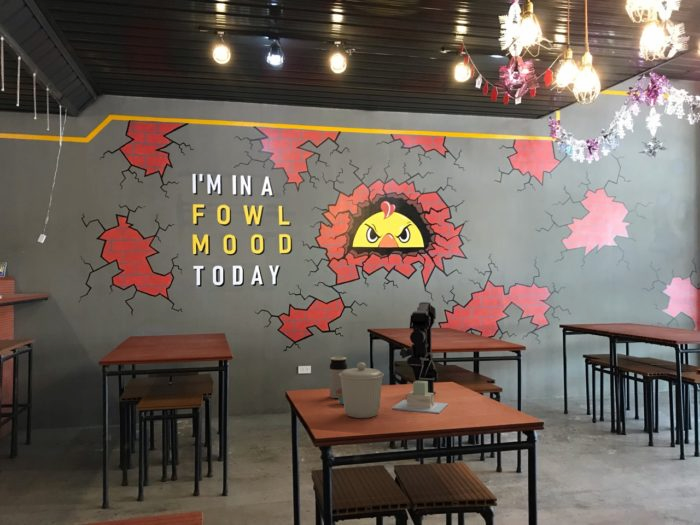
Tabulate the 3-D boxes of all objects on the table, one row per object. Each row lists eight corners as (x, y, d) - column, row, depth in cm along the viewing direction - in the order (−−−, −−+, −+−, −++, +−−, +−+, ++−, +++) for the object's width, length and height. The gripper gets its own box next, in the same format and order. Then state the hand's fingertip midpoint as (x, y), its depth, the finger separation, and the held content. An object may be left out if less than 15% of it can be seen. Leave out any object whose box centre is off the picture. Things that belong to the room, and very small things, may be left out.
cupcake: (332, 404, 240) (332, 376, 240) (340, 400, 247) (340, 373, 248) (351, 406, 236) (351, 378, 237) (358, 402, 244) (358, 374, 244)
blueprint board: (403, 400, 246) (403, 399, 246) (448, 405, 238) (448, 403, 238) (392, 409, 231) (392, 407, 231) (439, 413, 224) (439, 411, 224)
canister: (378, 422, 210) (377, 367, 211) (333, 419, 216) (332, 365, 216) (388, 411, 228) (388, 360, 228) (346, 408, 233) (346, 358, 233)
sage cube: (416, 392, 238) (416, 380, 238) (427, 393, 236) (427, 381, 236) (413, 394, 234) (413, 382, 234) (424, 395, 232) (424, 383, 232)
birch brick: (410, 403, 239) (410, 391, 240) (433, 404, 236) (433, 393, 236) (407, 406, 234) (407, 394, 234) (430, 408, 230) (430, 396, 230)
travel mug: (350, 396, 256) (350, 357, 256) (341, 399, 249) (341, 359, 249) (335, 394, 260) (335, 356, 260) (326, 398, 253) (326, 358, 253)
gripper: (408, 338, 247) (408, 373, 247) (395, 343, 230) (395, 381, 230) (432, 339, 243) (433, 375, 242) (421, 344, 226) (421, 383, 225)
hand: (420, 378), depth 235 cm, fingers open, 9 cm apart
